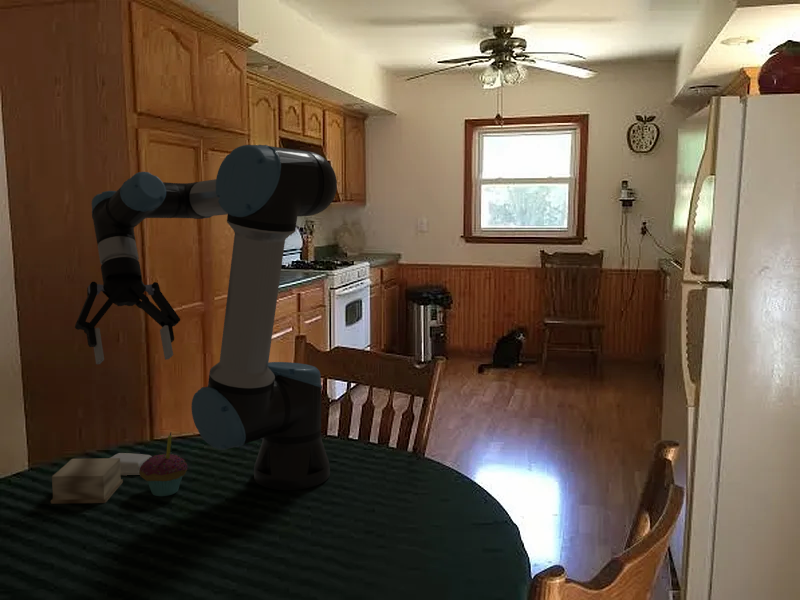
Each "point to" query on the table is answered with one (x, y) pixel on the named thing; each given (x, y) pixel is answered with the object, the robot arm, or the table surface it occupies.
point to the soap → (131, 462)
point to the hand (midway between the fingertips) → (135, 359)
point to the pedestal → (86, 481)
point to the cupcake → (164, 472)
